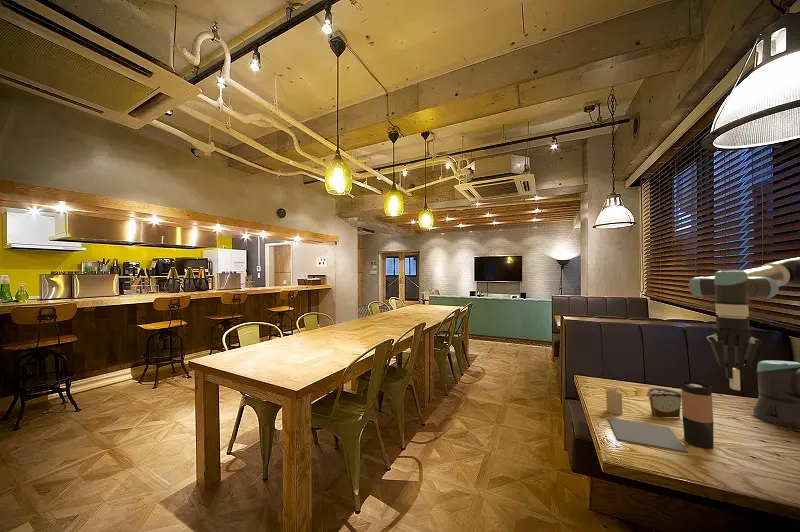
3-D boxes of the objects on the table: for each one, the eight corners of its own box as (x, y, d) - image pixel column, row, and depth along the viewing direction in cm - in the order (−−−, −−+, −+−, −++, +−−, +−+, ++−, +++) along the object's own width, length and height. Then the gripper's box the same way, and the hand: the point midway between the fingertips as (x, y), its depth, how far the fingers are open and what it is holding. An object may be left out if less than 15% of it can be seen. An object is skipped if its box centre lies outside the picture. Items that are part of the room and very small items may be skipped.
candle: (620, 410, 132) (620, 386, 132) (624, 415, 127) (623, 391, 127) (605, 408, 134) (604, 385, 134) (608, 413, 129) (607, 389, 129)
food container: (671, 411, 130) (670, 387, 130) (683, 418, 124) (682, 393, 124) (640, 410, 131) (639, 387, 132) (650, 417, 125) (649, 392, 125)
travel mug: (706, 439, 107) (703, 381, 108) (720, 451, 100) (717, 389, 101) (678, 436, 110) (676, 379, 111) (690, 447, 103) (688, 386, 104)
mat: (668, 428, 116) (668, 427, 116) (688, 453, 99) (688, 451, 99) (608, 419, 124) (608, 417, 124) (617, 440, 108) (617, 438, 108)
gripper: (752, 316, 103) (755, 388, 102) (700, 314, 109) (703, 382, 108) (766, 319, 96) (770, 395, 95) (711, 317, 102) (713, 389, 101)
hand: (735, 388), depth 101 cm, fingers closed
